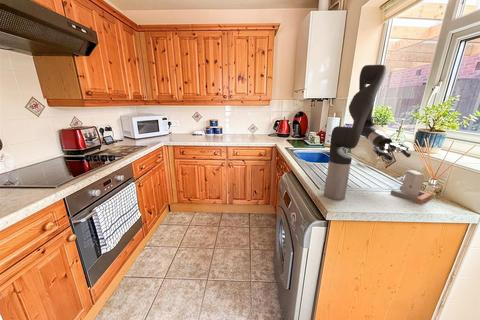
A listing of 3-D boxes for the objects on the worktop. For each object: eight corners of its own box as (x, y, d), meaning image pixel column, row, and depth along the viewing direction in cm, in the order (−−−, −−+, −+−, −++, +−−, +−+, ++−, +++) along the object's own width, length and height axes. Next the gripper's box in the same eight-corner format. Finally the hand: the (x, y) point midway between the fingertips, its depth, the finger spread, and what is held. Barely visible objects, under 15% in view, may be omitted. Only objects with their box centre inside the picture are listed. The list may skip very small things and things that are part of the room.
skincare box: (399, 192, 101) (405, 169, 97) (409, 192, 100) (415, 170, 97) (408, 198, 95) (415, 174, 91) (418, 198, 94) (425, 174, 91)
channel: (390, 193, 99) (391, 190, 98) (401, 188, 105) (402, 185, 104) (420, 203, 89) (422, 199, 88) (431, 197, 95) (432, 194, 94)
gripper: (367, 136, 106) (387, 153, 93) (394, 131, 106) (418, 148, 93) (364, 147, 111) (383, 165, 98) (390, 143, 110) (412, 161, 97)
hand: (400, 157), depth 95 cm, fingers open, 8 cm apart
